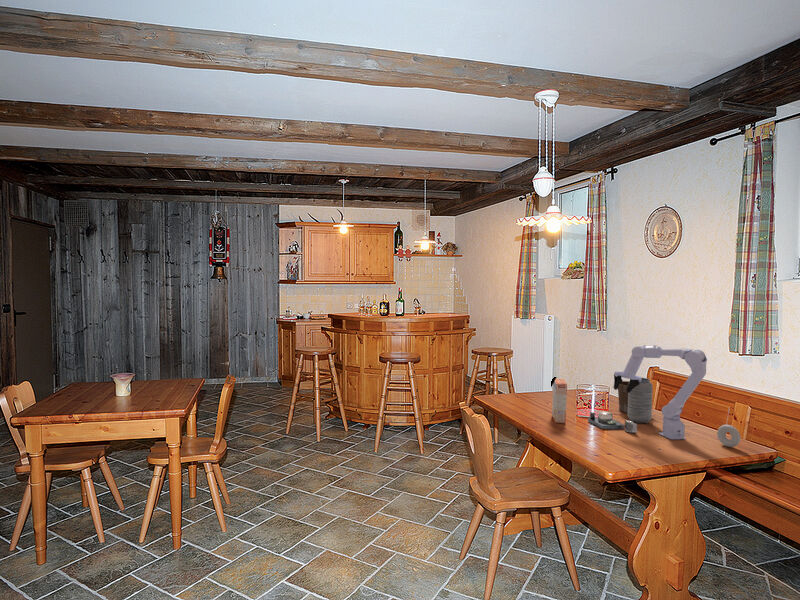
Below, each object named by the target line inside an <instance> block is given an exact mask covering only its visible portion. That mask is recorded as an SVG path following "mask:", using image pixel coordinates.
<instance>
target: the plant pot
mask: <svg viewBox="0 0 800 600" xmlns="http://www.w3.org/2000/svg"><path fill="white" fill-rule="evenodd" d="M629 382H630V380H623V381H622V382H621V383H620V385H619V386H618V388H617V394H618V410H619V411H620V412H622V413H626V414H627V413H628V392H627V391H626V390H627V387H628V384H629Z"/></svg>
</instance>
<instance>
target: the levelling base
mask: <svg viewBox="0 0 800 600" xmlns="http://www.w3.org/2000/svg"><path fill="white" fill-rule="evenodd" d="M613 416H614V414H613V413H612V412H610V411H598V412H597V417H596V413H595V412H590V413H589V417H588V418H587V422H588V423H590V424H591V423H592V424H591V425H593V424H594V425H593V426H595V425H596V426H595V427H597V426H598V427H597V428H599V429H600V428H601V429H600V430H602V429H607V430H625V429H626V428H625V423H621V422H620V421H618V420H615V419H613Z"/></svg>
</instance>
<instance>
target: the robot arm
mask: <svg viewBox="0 0 800 600" xmlns="http://www.w3.org/2000/svg"><path fill="white" fill-rule="evenodd" d="M663 356H665V357H667V356H668V357H670V356H671V357H679V358H680V359H682V360H684V362H685V363H686V364H687V365H688V366H689V368H690V370H691V374H690V375H689V376H688V378H687V379H686V381H685V382H684V383H683V384H682V386H681V387H680V388H679V390H678V392H676V394H675V396H674V397H673V398H672V399H671V400H670V401H669V402H668V403H667V404H666V405H664V406H663V407H662V408H661V414H662V432H658V434H659V435H661V436H663V437H665V438H667V439H670V440H686V439H687V438H686V437H685V432H686V431H685V430H686V429H685V428H686V426H685V424H684V422H683V421H682V420H681V416H680V415H681V414H682V412H683V408H684V406H685V403H686V401H688V399H689V398H690V396H691V395H692V394H693V392H694V391H695V389H696V388H697V387H698V386H699V384H700V383H701V381H702V380H703V379H704V377H706V374H707V362H708V358H707V356H706V354H705V352H704V351H703V350H700V349H692V348H662V347H661V346H659V345H657V344H653V345H652V346H651V345H649V346H648V345H639V346H634V347H633V348H632V350H631V356H630V357H629V359H628V361H627V364H626V365H625V368H624V369H623V371H614V374H613V377H614V378H613V379H614V382H613V389H614V390H615V391H618V389H617V388H618V386H619V385H620V383H621V382H622V381H624V380H623V379H628V380H629V381H630V382H629V385H628V387H627V390H626V391H627V392H628V393H630V392H631V390H632V389H633V388H635V387H636V386H637V385H639V382H641V380H642V378H643V377H641V376H638V375H637V372H638V370H639V369H640V366H641V364H642V362H643V360H644V358H646V359H647V358H648V359H660V358H661V357H663ZM622 378H623V379H622Z"/></svg>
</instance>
